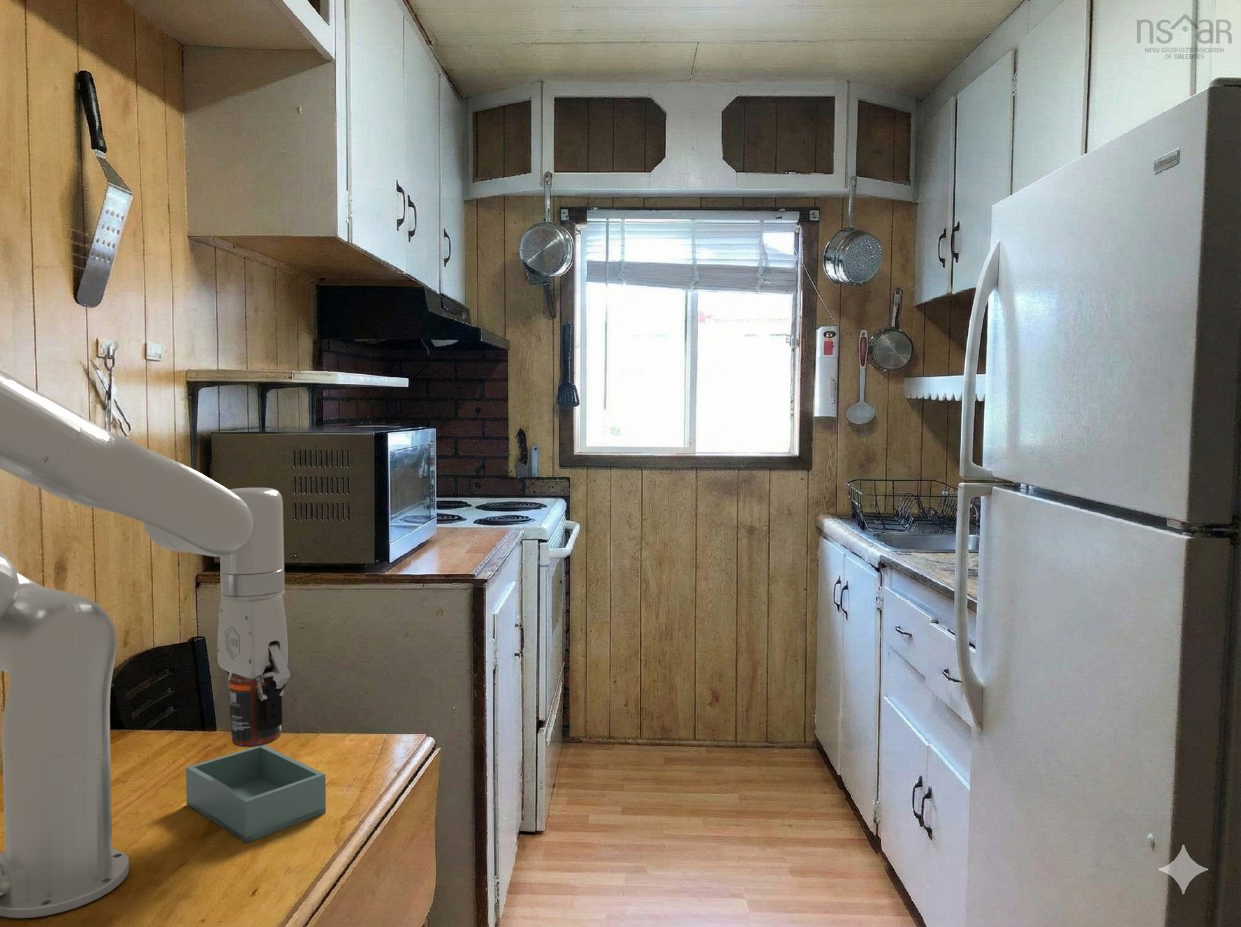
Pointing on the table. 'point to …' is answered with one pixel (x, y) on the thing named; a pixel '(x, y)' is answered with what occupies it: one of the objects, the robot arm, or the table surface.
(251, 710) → the supplement bottle
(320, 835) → the table surface
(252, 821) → the box
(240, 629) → the robot arm
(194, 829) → the table surface
